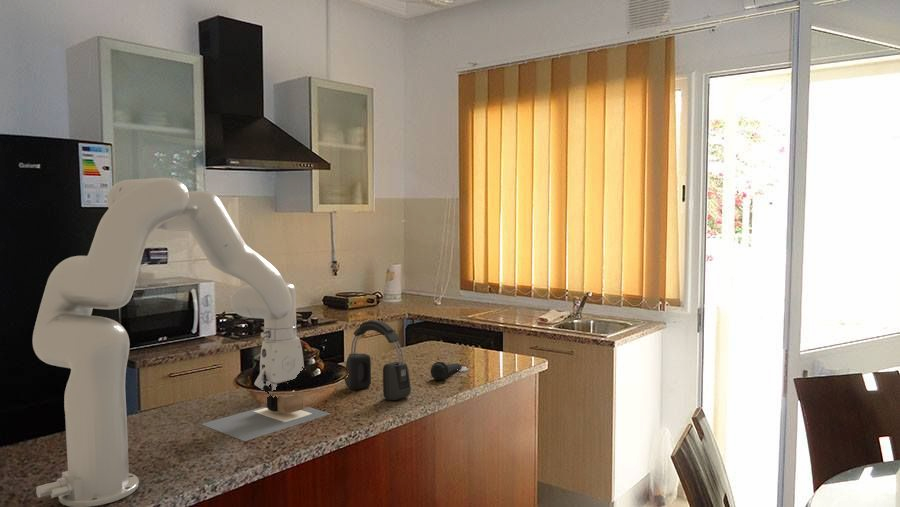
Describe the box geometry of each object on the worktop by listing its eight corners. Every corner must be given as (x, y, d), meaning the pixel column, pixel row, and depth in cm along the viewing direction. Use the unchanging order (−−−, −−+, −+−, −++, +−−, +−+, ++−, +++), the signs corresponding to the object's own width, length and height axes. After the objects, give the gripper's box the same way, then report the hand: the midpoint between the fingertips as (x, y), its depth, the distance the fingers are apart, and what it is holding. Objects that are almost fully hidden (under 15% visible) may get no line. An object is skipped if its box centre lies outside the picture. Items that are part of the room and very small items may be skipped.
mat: (244, 443, 139) (244, 440, 139) (200, 426, 151) (200, 423, 151) (331, 416, 158) (331, 413, 158) (286, 402, 169) (286, 400, 169)
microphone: (456, 376, 207) (429, 384, 189) (451, 358, 208) (425, 364, 190) (471, 372, 205) (446, 380, 187) (467, 354, 206) (441, 360, 188)
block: (261, 406, 160) (261, 389, 160) (278, 401, 164) (278, 385, 163) (286, 414, 154) (285, 397, 153) (303, 409, 157) (303, 392, 157)
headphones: (342, 388, 183) (341, 318, 182) (359, 383, 188) (358, 315, 186) (396, 403, 168) (395, 327, 167) (413, 398, 173) (412, 323, 171)
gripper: (259, 341, 149) (261, 419, 150) (318, 330, 162) (319, 402, 163) (240, 337, 153) (243, 413, 155) (299, 327, 166) (301, 397, 168)
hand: (282, 406), depth 159 cm, fingers closed on block, 4 cm apart
